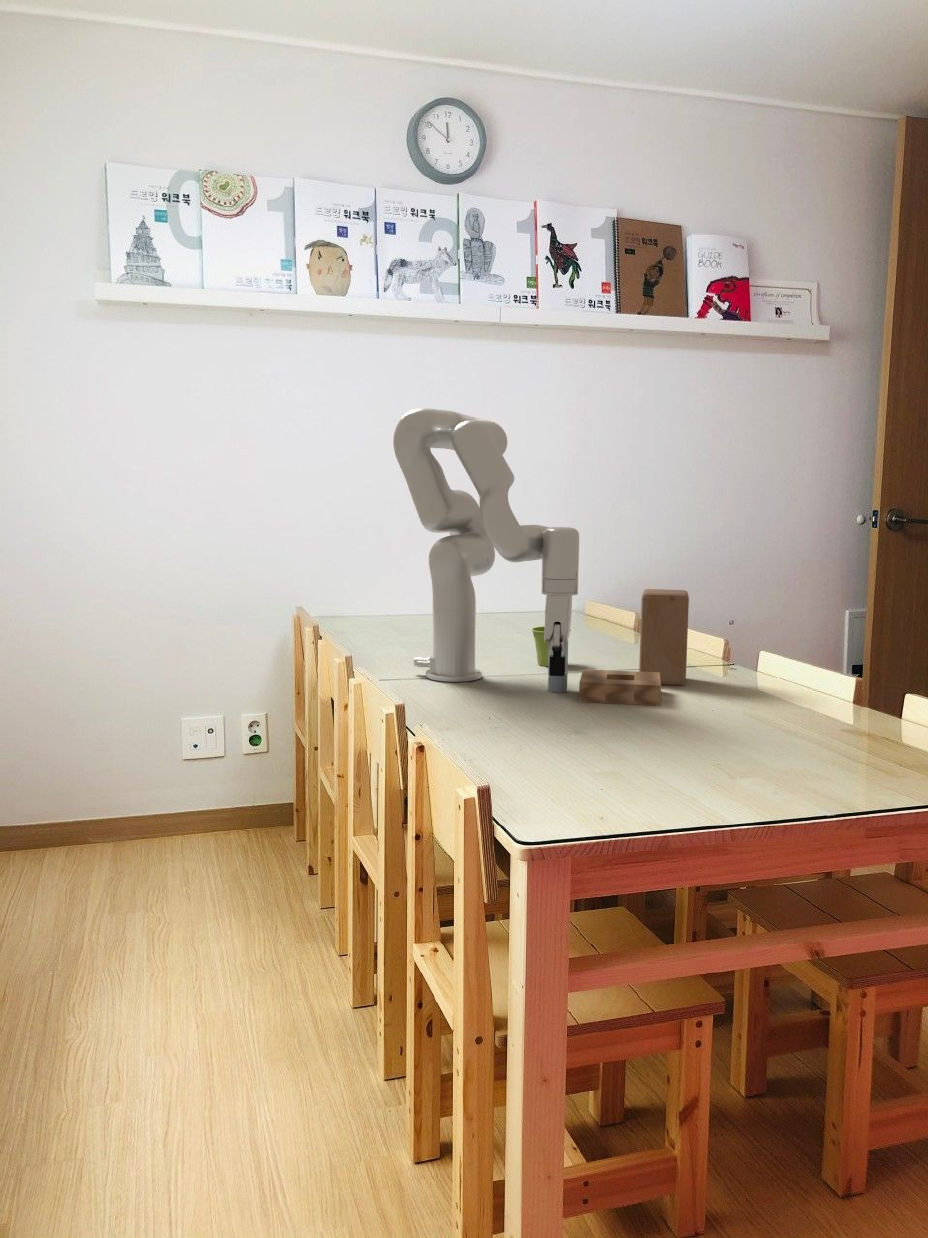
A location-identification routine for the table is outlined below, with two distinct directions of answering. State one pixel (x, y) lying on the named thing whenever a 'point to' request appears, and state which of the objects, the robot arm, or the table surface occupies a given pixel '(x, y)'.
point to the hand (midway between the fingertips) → (557, 672)
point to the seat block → (620, 687)
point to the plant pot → (541, 646)
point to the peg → (558, 682)
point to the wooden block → (664, 634)
